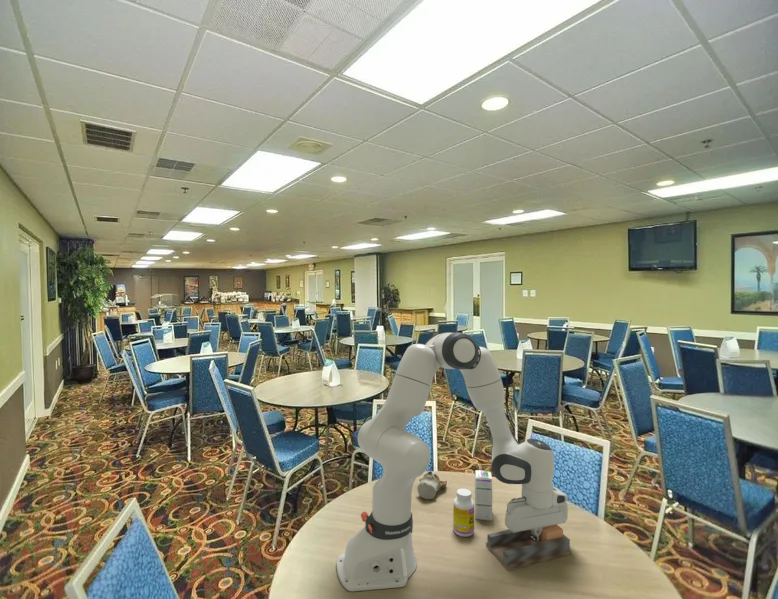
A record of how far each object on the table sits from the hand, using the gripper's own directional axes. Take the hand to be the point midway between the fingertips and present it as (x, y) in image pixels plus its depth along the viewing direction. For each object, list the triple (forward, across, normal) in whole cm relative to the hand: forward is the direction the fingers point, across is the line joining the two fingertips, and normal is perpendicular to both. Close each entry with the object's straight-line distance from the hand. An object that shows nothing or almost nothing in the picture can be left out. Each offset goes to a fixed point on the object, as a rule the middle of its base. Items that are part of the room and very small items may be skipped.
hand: (535, 540), depth 117 cm
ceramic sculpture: (+4, -18, +39) cm, 43 cm away
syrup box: (+3, -6, +20) cm, 21 cm away
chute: (+2, -3, 0) cm, 4 cm away
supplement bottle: (+3, -17, +14) cm, 22 cm away
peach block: (+1, +4, 0) cm, 5 cm away
